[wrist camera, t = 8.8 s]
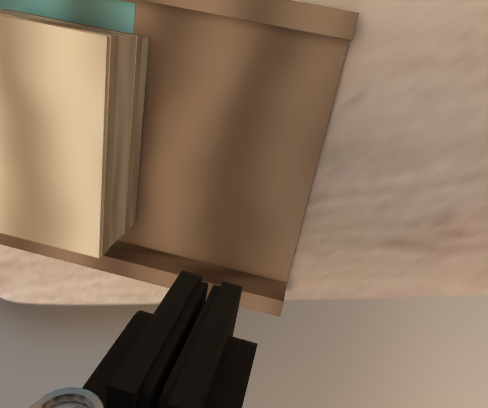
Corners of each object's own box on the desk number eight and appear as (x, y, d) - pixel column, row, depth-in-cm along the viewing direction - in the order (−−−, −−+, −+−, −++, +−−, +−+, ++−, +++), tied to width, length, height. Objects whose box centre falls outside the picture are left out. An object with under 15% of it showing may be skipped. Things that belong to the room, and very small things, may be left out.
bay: (354, 16, 22) (359, 13, 19) (283, 290, 29) (279, 316, 26) (-18, -53, 24) (-62, -64, 21) (1, 219, 31) (-30, 236, 28)
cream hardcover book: (149, 36, 23) (107, 35, 19) (135, 223, 28) (99, 259, 24) (19, 10, 24) (-51, 3, 20) (27, 196, 29) (-28, 226, 24)
